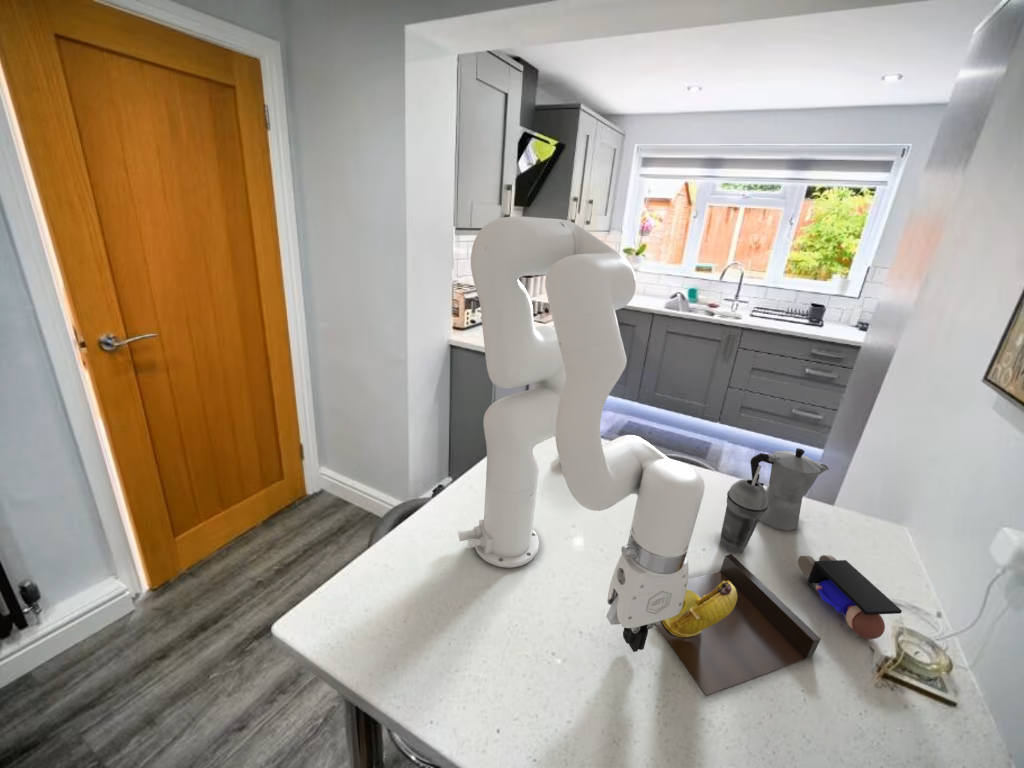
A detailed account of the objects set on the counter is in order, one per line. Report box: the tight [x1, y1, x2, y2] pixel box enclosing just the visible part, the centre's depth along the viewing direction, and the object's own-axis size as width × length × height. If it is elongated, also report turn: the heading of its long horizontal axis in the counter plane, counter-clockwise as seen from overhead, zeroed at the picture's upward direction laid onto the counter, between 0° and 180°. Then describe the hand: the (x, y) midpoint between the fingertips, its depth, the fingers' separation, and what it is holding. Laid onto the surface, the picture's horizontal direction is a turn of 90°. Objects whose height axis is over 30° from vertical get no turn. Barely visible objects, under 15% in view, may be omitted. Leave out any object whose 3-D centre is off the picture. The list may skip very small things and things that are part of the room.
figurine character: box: [797, 554, 903, 640], centre depth 76 cm, size 7×8×15 cm
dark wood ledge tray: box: [654, 553, 822, 696], centre depth 71 cm, size 21×18×4 cm
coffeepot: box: [750, 447, 830, 531], centre depth 96 cm, size 15×9×18 cm, turn 79°
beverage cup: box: [719, 464, 768, 555], centre depth 86 cm, size 7×7×20 cm
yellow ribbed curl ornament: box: [660, 581, 737, 639], centre depth 67 cm, size 12×8×15 cm
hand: (632, 642), depth 66 cm, fingers closed
